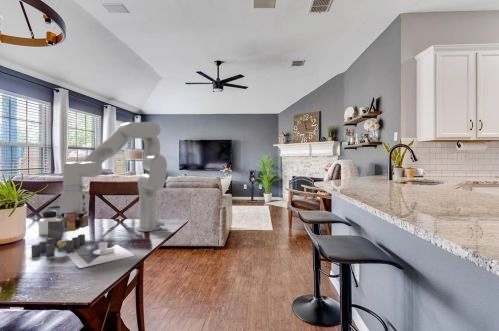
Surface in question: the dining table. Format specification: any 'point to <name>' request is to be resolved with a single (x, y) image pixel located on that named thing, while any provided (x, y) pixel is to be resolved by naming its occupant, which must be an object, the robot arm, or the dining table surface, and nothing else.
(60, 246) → the brass nut
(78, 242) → the board
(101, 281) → the dining table surface
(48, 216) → the medicine bottle
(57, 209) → the grey cup
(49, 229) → the wooden toy mallet
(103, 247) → the teacup and saucer
